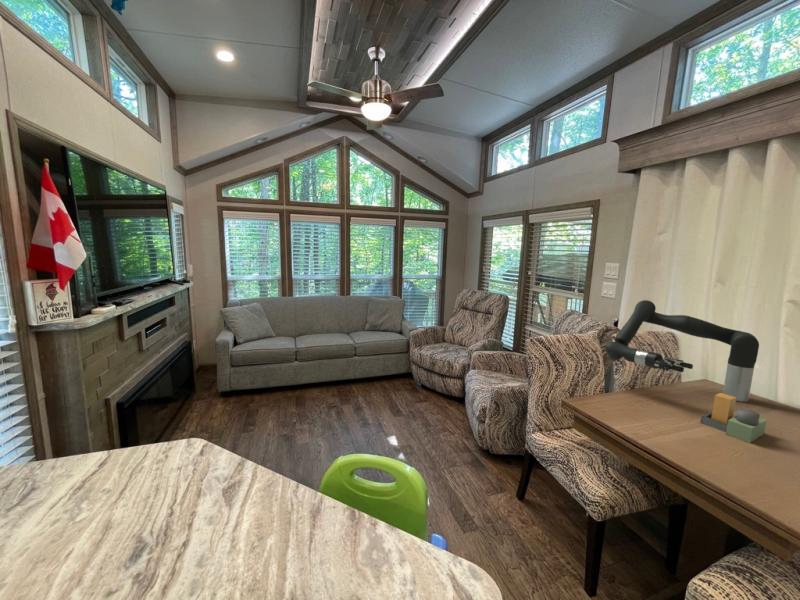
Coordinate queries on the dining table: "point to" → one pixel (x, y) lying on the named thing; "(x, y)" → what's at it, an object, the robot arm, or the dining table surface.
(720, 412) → the tall orange pillar
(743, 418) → the mower housing
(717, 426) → the dark grey tray
